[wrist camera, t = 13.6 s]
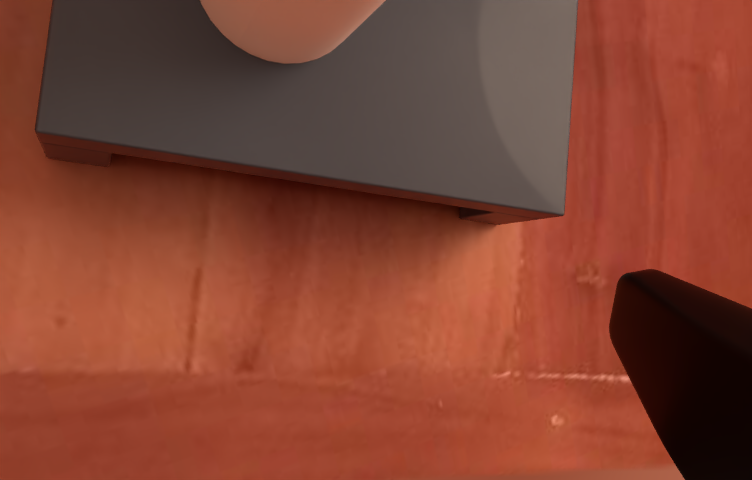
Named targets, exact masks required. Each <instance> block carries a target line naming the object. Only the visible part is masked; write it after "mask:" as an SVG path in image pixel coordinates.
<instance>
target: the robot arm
mask: <svg viewBox="0 0 752 480" xmlns="http://www.w3.org/2000/svg"><path fill="white" fill-rule="evenodd" d="M609 332H610V338H611V341H612V344H613V346H614V348H615V350H616V352H617V354H618V356H619V358H620V360H621V362H622V364H623V366H624V368H625V370H626V372H627V374H628V376H629V378H630V380H631V382H632V384H633V386H634V388H635V390H636V392H637V394H638V396H639V398H640V400H641V402H642V404H643V406H644V408H645V410H646V412H647V414H648V416H649V418H650V420H651V422H652V424H653V426H654V428H655V430H656V432H657V434H658V436H659V437H660V439H661V441H662V443H663V445H664V447H665V448H666V450H667V452H668V453H669V455H670V457H671V458H672V460H673V461H674V463H675V465H676V466H677V468H678V469H679V471H680V473H681V474H682V475H683V477H684V479H685V480H752V309H751V308H749V307H746V306H744V305H741V304H739V303H737V302H734V301H732V300H729V299H727V298H724V297H722V296H719V295H717V294H715V293H712V292H710V291H707V290H705V289H702V288H700V287H697V286H695V285H693V284H690V283H688V282H685V281H683V280H680V279H678V278H675V277H673V276H671V275H668V274H666V273H663V272H661V271H658V270H654V269H647V270H642V271H636V272H631V273H626V274H624V275H623V276H621V278H620V279H619V281H618V283H617V288H616V293H615V298H614V303H613V308H612V313H611V318H610V324H609Z"/></svg>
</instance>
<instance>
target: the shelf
mask: <svg viewBox="0 0 752 480" xmlns="http://www.w3.org/2000/svg"><path fill="white" fill-rule="evenodd" d="M577 9H578V0H386V1H385V2H383V3H382V4H381V5H380V6H379V7H378V8H377V9H376V10H375V11H374V12H373V13H372V14H371V15H370V16H369V17H368V18H367V19H366V20H365V21H364V22H363V23H362V24H361V25H360V26H359V27H358V28H356V29H355V30H354V31H353V32H352V33H351V34H350V35H349V36H348V37H347V38H346V39H345V40H344V41H343V42H342V43H341V44H340V45H338V46H337V47H336V48H335V49H334V50H332V51H331V52H330V53H328V54H326V55H324V56H322V57H320V58H318V59H315V60H311V61H307V62H304V63H289V64H283V63H278V62H272V61H267V60H264V59H261V58H259V57H256V56H253V55H251V54H249V53H247V52H246V51H244V50H242V49H241V48H239V47H237V46H236V45H235V44H233V43H232V42H231V41H230V40H229V39H227V38H226V37H225V36H224V35H223V34H222V33H221V32H220V31H219V29H218V28H217V27H216V26H215V25H214V24H213V22H212V21H211V20H210V18H209V16H208V15H207V13H206V11H205V9H204V8H203V6H202V4H201V1H200V0H53V1H52V9H51V16H50V23H49V30H48V38H47V45H46V52H45V59H44V67H43V74H42V81H41V88H40V96H39V103H38V110H37V117H36V124H35V132H36V134H37V137H38V139H39V141H40V143H41V145H42V147H43V150H44V152H45V155H46V157H48V158H50V159H57V160H64V161H71V162H78V163H84V164H91V165H98V166H105V167H107V166H109V165H110V163H111V155H112V153H115V154H122V155H128V156H135V157H141V158H148V159H154V160H161V161H167V162H174V163H180V164H186V165H193V166H199V167H206V168H212V169H219V170H225V171H232V172H238V173H245V174H251V175H258V176H264V177H271V178H277V179H284V180H290V181H297V182H303V183H310V184H316V185H323V186H329V187H336V188H342V189H349V190H355V191H362V192H368V193H375V194H381V195H388V196H394V197H401V198H407V199H414V200H420V201H427V202H433V203H440V204H446V205H453V206H459V207H460V214H459V218H460V219H465V220H471V221H478V222H485V223H492V224H499V225H500V224H508V223H515V222H522V221H530V220H537V219H544V218H551V217H558V216H563V215H564V212H565V196H566V180H567V165H568V149H569V134H570V118H571V103H572V87H573V72H574V56H575V40H576V25H577Z"/></svg>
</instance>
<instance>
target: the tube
mask: <svg viewBox="0 0 752 480" xmlns="http://www.w3.org/2000/svg"><path fill="white" fill-rule="evenodd" d="M200 1H201V4H202V6H203V8H204V9H205V11H206V13H207V15H208V16H209V18H210V20H211V21H212V22H213V24H214V25H215V26H216V27H217V28H218V29H219V31H220V32H221V33H222V34H223V35H224V36H225V37H226V38H227V39H229V40H230V41H231V42H232V43H233V44H235V45H236V46H237V47H239V48H241V49H242V50H244V51H246V52H247V53H249V54H251V55H253V56H256V57H259V58H261V59H264V60H267V61H272V62H278V63H283V64H289V63H304V62H307V61H311V60H315V59H318V58H320V57H322V56H324V55H326V54H328V53H330V52H331V51H332V50H334V49H335V48H336V47H337V46H338V45H340V44H341V43H342V42H343V41H344V40H345V39H346V38H347V37H348V36H349V35H350V34H351V33H352V32H353V31H354V30H355V29H356V28H358V27H359V26H360V25H361V24H362V23H363V22H364V21H365V20H366V19H367V18H368V17H369V16H370V15H371V14H372V13H373V12H374V11H375V10H376V9H377V8H378V7H379V6H380V5H381V4H382V3H383V2H385V1H386V0H200Z"/></svg>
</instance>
